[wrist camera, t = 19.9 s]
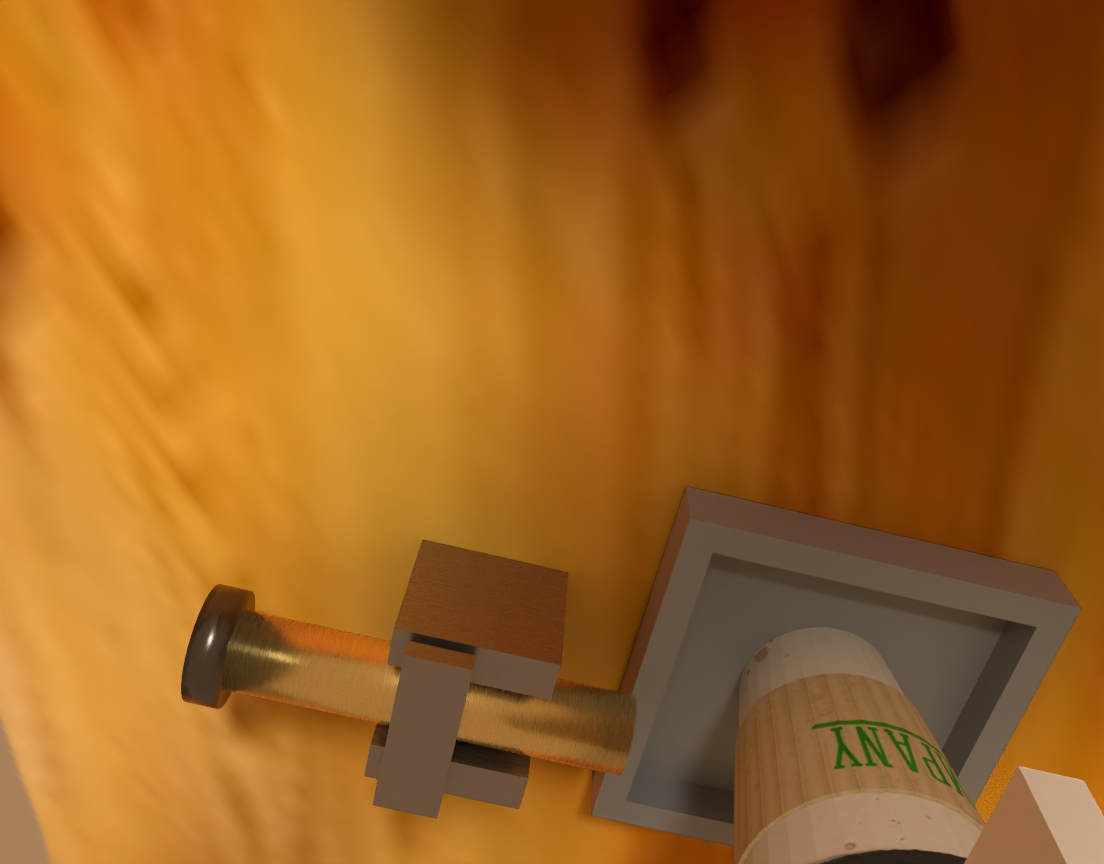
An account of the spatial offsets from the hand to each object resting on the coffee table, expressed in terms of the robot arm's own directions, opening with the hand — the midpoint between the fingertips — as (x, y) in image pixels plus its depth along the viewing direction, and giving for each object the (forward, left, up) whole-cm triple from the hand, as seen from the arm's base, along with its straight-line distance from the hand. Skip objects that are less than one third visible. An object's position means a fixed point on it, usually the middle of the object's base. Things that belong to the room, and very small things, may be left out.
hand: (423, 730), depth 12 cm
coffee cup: (+17, +15, -26) cm, 35 cm away
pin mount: (+18, +1, -27) cm, 32 cm away
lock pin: (+18, -1, -24) cm, 30 cm away
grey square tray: (+17, +15, -27) cm, 35 cm away
